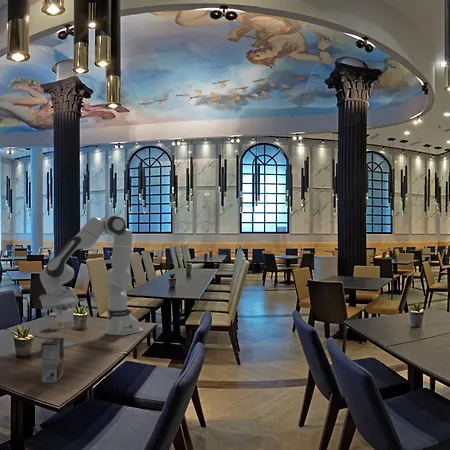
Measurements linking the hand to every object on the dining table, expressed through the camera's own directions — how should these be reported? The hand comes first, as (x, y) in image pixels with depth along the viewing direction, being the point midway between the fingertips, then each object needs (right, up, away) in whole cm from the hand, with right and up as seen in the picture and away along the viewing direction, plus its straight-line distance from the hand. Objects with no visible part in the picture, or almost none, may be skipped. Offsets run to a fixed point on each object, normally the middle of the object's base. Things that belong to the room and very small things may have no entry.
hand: (65, 312), depth 222 cm
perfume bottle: (-1, -4, 0) cm, 4 cm away
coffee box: (+14, -17, -50) cm, 54 cm away
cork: (-8, -17, -10) cm, 22 cm away
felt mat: (-1, -17, 0) cm, 17 cm away
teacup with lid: (-21, -18, +39) cm, 47 cm away
